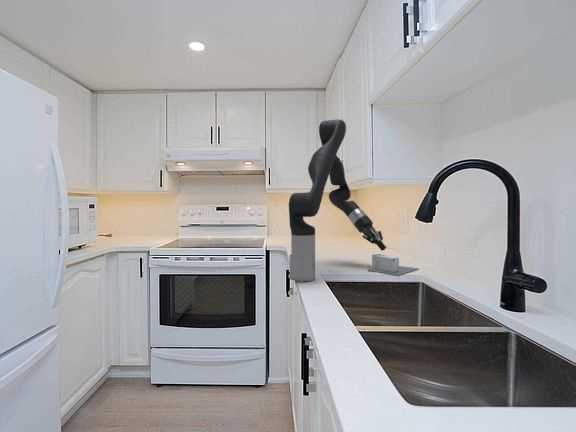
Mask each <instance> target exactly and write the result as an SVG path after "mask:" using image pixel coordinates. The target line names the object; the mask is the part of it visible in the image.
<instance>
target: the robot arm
mask: <svg viewBox="0 0 576 432" xmlns="http://www.w3.org/2000/svg"><path fill="white" fill-rule="evenodd" d="M346 132H347V125H346V122H345V121H344V120H343V119H328V120H327V119H326V120H322V121H321V122H320V123H319V125H318V134H319V135H318V136H319V139H320V142H321V146H320V147H319V148H318V149H317V150H316V151H314V153H313V154H312V156H311V158H310V161H309V163H308V167H307V168H308V169H307V170H308V175H309V177H310V181H311V182H312V185H311V189H310V191H308V192H294V193H292V194H291V195H290V197H289V200H288V214H289V228H290V233H291V234H290V235H291V236H290V237H291V238H290V239H291V241H290V246H291V247H290V248H291V249H290V250H291V253H290V255H289V280H290V281H295V282H300V283H303V282H311V281H315V280H316V228H315V226H313V225H310V224H309V223H307V222H306V221H305V219H304V218H312V217H315V216H317V214H318V213H319V210H320V208H321V203H322V199H323V195H324V191H325V187H326V184H327V181H328V178H329V180H330V184H331V186H338V188H335V189H333V190H330V192H329V194H328V200H329V201H330V203H331V204H332V205H333V206H334V207H336V208H337V209H339V210H340V211H342V212H343V213H344V214H345V215H346V217H347V218H348V219H349V221H350V222H351V224H352V225H353V226H354V228H356V230H357V231H358V232H359V233H360V234H363V235H362V238H363V239H364V240H366V241H368V242H369V243H371V244H372V245H373V244H375V245H376V246H377V247H378V248H379V250H380V251H385V250H386V249H387V246H386V245H385V243H384V242H383V240H384V237H383V234H382V231H381V230H378V231H377V230H376V228H375V227H374V226H373V224H374V222H373V220H372V219H371V218H370V217H369V215H367V213H366V212H365V211H364V210H363V209H361V207H360V206H359V205H358V204H357V202H356V201H354V200H350V198H351V194H352V193H351V190H350V187H349V185H348V183H347V180H346V176H345V167H344V164H343V162H342V161H341V159H340V158H339V156H338V155H337V154H338V152H339V149H340V147H341V145H342V143H343V141H344V139H345V136H346Z"/></svg>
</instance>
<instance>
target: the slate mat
mask: <svg viewBox="0 0 576 432" xmlns="http://www.w3.org/2000/svg"><path fill="white" fill-rule="evenodd" d="M418 270H419V267H410V266H403V265H399V271H397V272H388V271H384V270H379V269H375V268H372V269H368V270H367V271H368V272H370V271H372V273H377V272H378V273H379V274H383V275H384V274H385V275H390V276H397V277H400V276H404V275H406V274H408V273H412V272H415V271H418Z"/></svg>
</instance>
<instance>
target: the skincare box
mask: <svg viewBox="0 0 576 432" xmlns="http://www.w3.org/2000/svg"><path fill="white" fill-rule="evenodd" d="M399 266H400V257H398V256H391V255H387V254H380V253H379V254H372V255H371V268H372V269H379V270H384V271H388V272H397V271H399Z"/></svg>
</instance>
